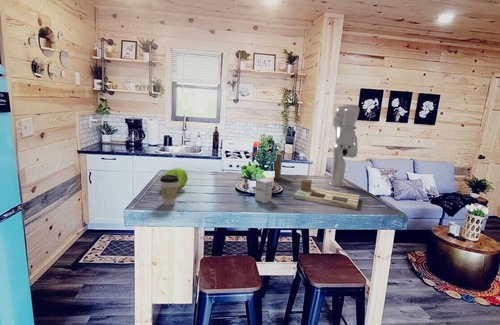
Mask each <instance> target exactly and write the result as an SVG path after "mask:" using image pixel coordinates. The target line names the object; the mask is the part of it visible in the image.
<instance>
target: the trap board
mask: <svg viewBox="0 0 500 325" xmlns="http://www.w3.org/2000/svg"><path fill="white" fill-rule="evenodd" d="M293 199H297V200H302V201H306V202H307V201H308V202H314V203H318V204H319V203H320V204H323V205H330V206H333V207H334V206H335V207H341V208H344V209H345V208H346V209H351V210H358V206H359V205H358V204H359V200H360V195H359V194H354V193H347V192H342V191H337V190H335V191H334V190H330V189H324V188H317V187H312V186H311V189H310V191H306V190H301V187H300V188H299V189H298V190H297V191H296V192H295V193H294V194H293Z"/></svg>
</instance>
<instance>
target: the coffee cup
mask: <svg viewBox="0 0 500 325" xmlns="http://www.w3.org/2000/svg"><path fill="white" fill-rule="evenodd" d="M159 181H160V183H161V185H160V188H161V196H162V204H163V205H164V206H174V205H175V204H176V198H177V193H178V189H177V187H178V181H179V179H178V177H177V176H175V175H165V174H164V175H162V176H161V178H160V180H159Z"/></svg>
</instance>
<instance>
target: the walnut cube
mask: <svg viewBox="0 0 500 325" xmlns="http://www.w3.org/2000/svg"><path fill="white" fill-rule="evenodd" d="M300 183H301V184H300V188H301V190H306V191H310V189H311V187H312V180H311V179H304V178H303V179H301V182H300Z"/></svg>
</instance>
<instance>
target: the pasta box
mask: <svg viewBox="0 0 500 325" xmlns="http://www.w3.org/2000/svg"><path fill="white" fill-rule="evenodd" d="M259 143H260V142H259V141H254V142H253V146H252V153H251V155H252V157H251V162H252V161H254V160H255V156H256V153H257V145H258V144H259Z"/></svg>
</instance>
